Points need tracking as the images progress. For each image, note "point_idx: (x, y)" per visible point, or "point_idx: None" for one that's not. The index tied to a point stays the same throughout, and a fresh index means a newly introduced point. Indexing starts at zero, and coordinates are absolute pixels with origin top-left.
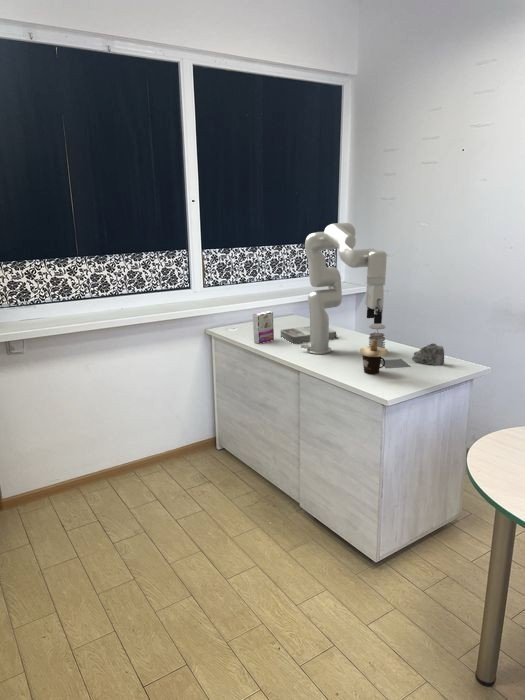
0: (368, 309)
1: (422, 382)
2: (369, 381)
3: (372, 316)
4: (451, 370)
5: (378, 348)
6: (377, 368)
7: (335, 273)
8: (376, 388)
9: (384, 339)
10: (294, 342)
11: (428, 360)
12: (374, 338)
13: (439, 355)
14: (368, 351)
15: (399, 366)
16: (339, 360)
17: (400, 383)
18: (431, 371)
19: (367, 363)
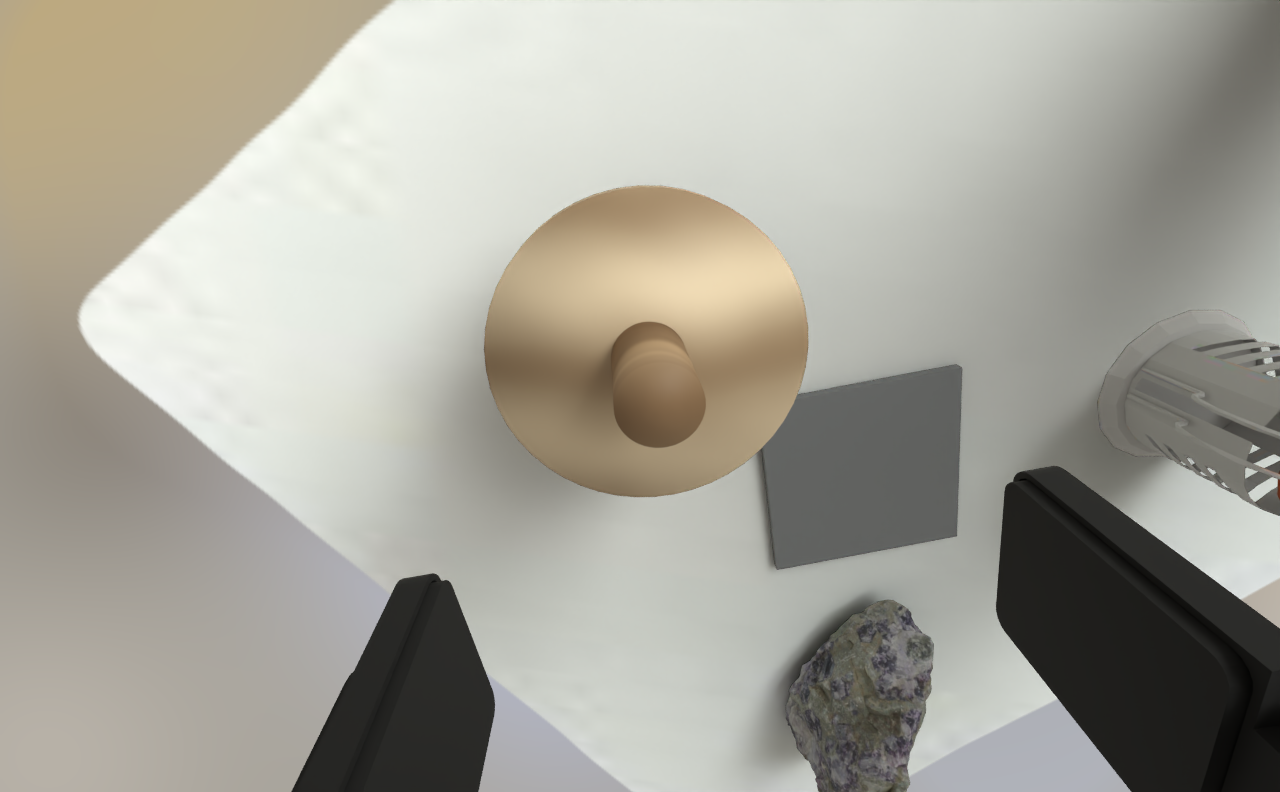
0: (1251, 700)
1: (477, 581)
2: (461, 241)
3: (1022, 615)
4: (705, 743)
5: (720, 415)
6: None
7: None
8: (298, 276)
9: (1249, 502)
10: None
11: (810, 685)
12: (1241, 421)
13: (817, 765)
14: (599, 291)
15: (787, 501)
16: (1075, 16)
17: (441, 456)
18: (692, 655)
19: None
